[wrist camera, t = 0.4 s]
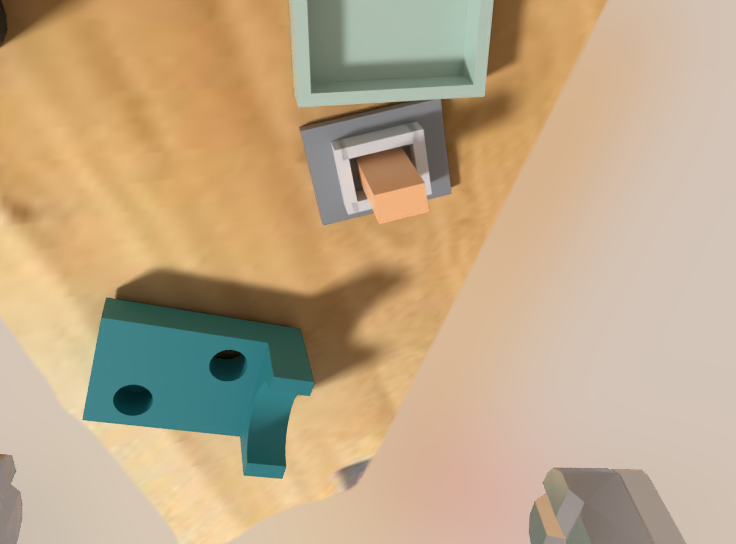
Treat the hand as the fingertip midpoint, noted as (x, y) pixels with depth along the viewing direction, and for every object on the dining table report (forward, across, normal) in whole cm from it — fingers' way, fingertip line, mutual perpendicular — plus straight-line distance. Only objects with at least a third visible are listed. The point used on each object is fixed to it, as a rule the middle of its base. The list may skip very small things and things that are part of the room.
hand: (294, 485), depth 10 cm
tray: (+48, -8, +3) cm, 48 cm away
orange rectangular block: (+46, -9, +15) cm, 49 cm away
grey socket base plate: (+47, -9, +15) cm, 50 cm away
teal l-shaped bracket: (+45, +6, +36) cm, 58 cm away
